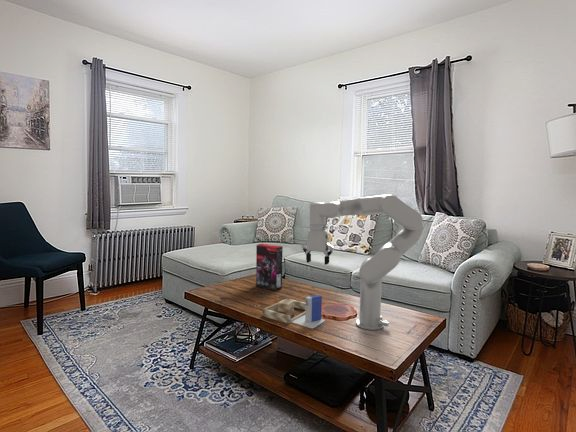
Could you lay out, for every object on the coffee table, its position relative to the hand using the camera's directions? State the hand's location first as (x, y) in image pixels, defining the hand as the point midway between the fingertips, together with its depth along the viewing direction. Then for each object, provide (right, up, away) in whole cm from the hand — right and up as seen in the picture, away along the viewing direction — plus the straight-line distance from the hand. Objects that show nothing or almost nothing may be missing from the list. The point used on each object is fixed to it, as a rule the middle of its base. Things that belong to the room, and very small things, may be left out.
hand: (317, 263), depth 169 cm
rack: (-14, -27, +8) cm, 31 cm away
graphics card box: (-27, -23, +53) cm, 64 cm away
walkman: (-2, -28, -1) cm, 28 cm away
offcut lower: (-16, -27, +3) cm, 32 cm away
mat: (-5, -28, -2) cm, 28 cm away
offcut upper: (-15, -23, +3) cm, 28 cm away
